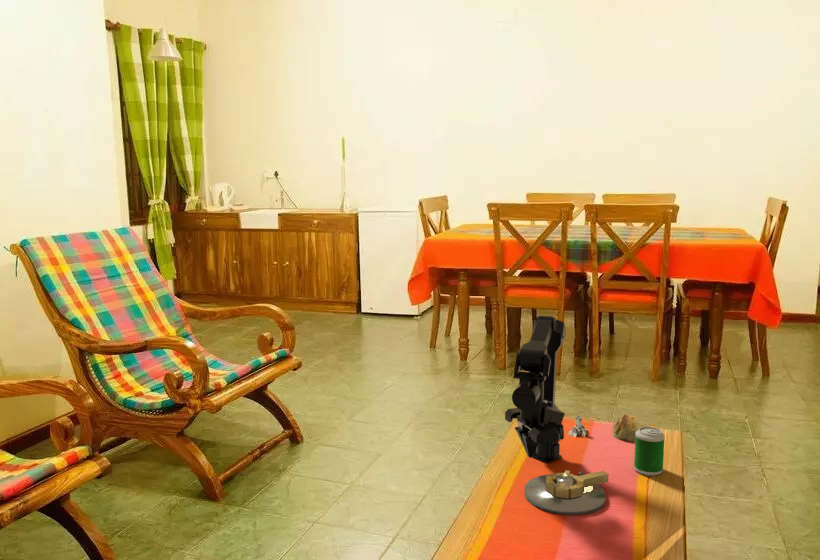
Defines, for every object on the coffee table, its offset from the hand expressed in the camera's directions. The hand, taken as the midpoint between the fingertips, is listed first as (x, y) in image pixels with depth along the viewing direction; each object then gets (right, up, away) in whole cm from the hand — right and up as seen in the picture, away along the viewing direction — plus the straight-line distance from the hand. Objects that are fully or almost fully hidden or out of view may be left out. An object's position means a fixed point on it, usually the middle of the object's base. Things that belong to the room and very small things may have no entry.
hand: (530, 457), depth 178 cm
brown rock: (+38, -5, +38) cm, 53 cm away
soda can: (+35, -8, +14) cm, 38 cm away
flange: (+9, -10, 0) cm, 13 cm away
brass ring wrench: (+13, -8, +2) cm, 15 cm away
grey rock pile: (+22, -5, +38) cm, 44 cm away
